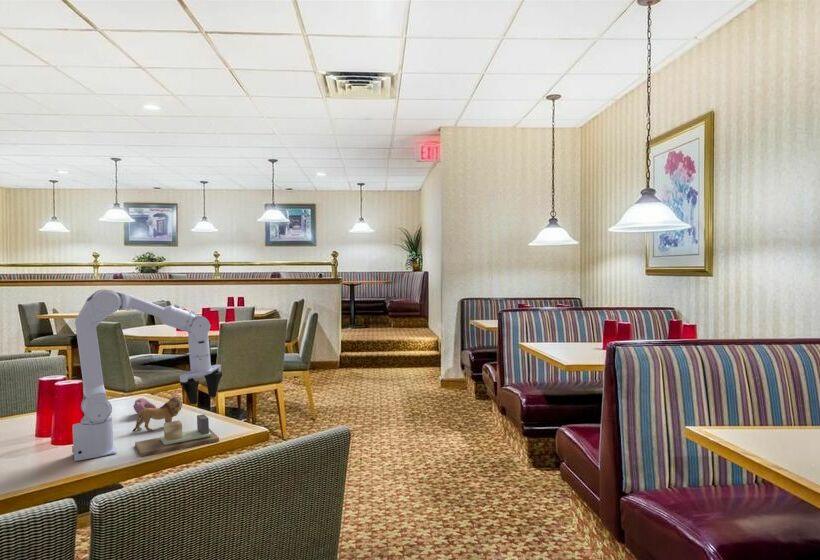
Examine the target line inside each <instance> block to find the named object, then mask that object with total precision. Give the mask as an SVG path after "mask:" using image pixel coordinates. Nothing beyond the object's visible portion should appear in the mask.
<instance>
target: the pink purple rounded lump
mask: <svg viewBox="0 0 820 560" xmlns="http://www.w3.org/2000/svg"><path fill="white" fill-rule="evenodd" d="M132 408H133V409H134V411H135V412H136V414H137V415H139V413H140V412H141V411H142V410H143V409H146V408H157V407H156V405H155V404H153V403H152V402H150V401H149V400H147V399H146V398H144V397H140V398H138V399H135V401H134V405H133V407H132Z"/></svg>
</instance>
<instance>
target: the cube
mask: <svg viewBox="0 0 820 560" xmlns="http://www.w3.org/2000/svg"><path fill="white" fill-rule="evenodd" d="M163 431H164V433H163V436H164V437H165V439H166V440H167V441H169V440H174V439H179V438H183V436H182V432H183V423H182V421H180V420H174V421H173V420H172V422H167V423H165V422H163Z"/></svg>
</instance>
